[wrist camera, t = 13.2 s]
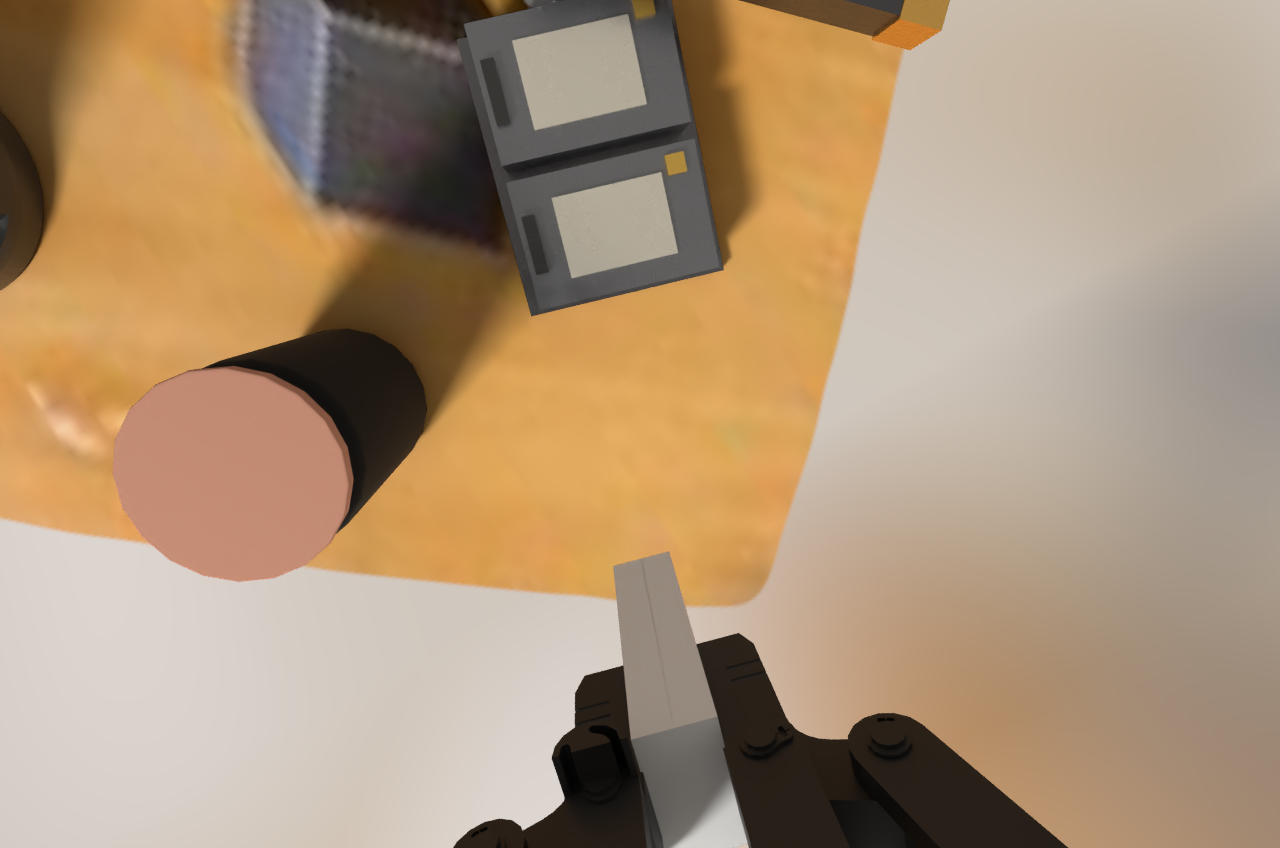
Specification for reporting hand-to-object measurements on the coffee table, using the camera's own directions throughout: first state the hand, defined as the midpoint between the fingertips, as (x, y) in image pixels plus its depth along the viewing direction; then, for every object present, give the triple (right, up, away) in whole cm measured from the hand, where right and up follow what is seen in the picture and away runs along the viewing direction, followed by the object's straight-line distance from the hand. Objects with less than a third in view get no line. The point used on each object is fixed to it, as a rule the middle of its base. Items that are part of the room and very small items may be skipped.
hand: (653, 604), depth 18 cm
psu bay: (-3, +23, +29) cm, 37 cm away
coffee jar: (-21, +6, +32) cm, 39 cm away
